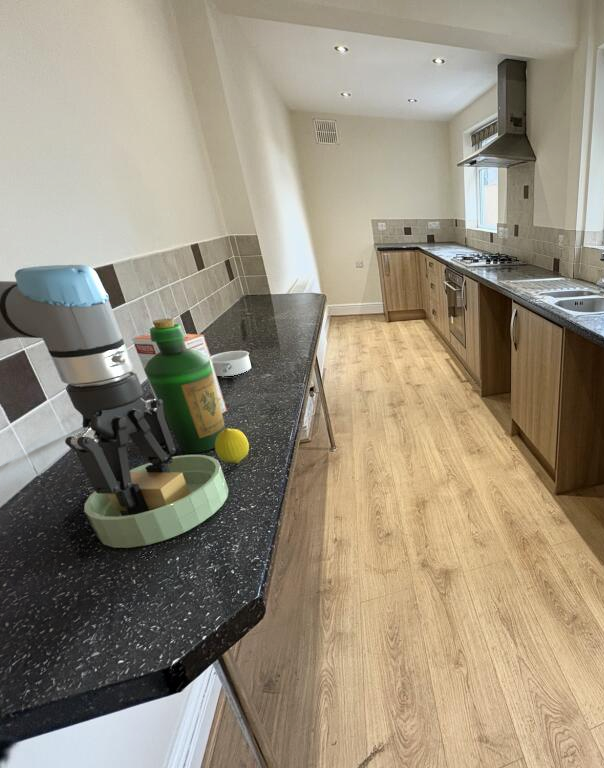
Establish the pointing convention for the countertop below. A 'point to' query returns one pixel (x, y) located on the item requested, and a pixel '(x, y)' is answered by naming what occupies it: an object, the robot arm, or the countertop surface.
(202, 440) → the bottle
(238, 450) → the lemon
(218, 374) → the saucepan
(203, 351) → the cracker box
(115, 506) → the wooden block
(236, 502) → the countertop surface
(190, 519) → the bowl
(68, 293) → the robot arm
